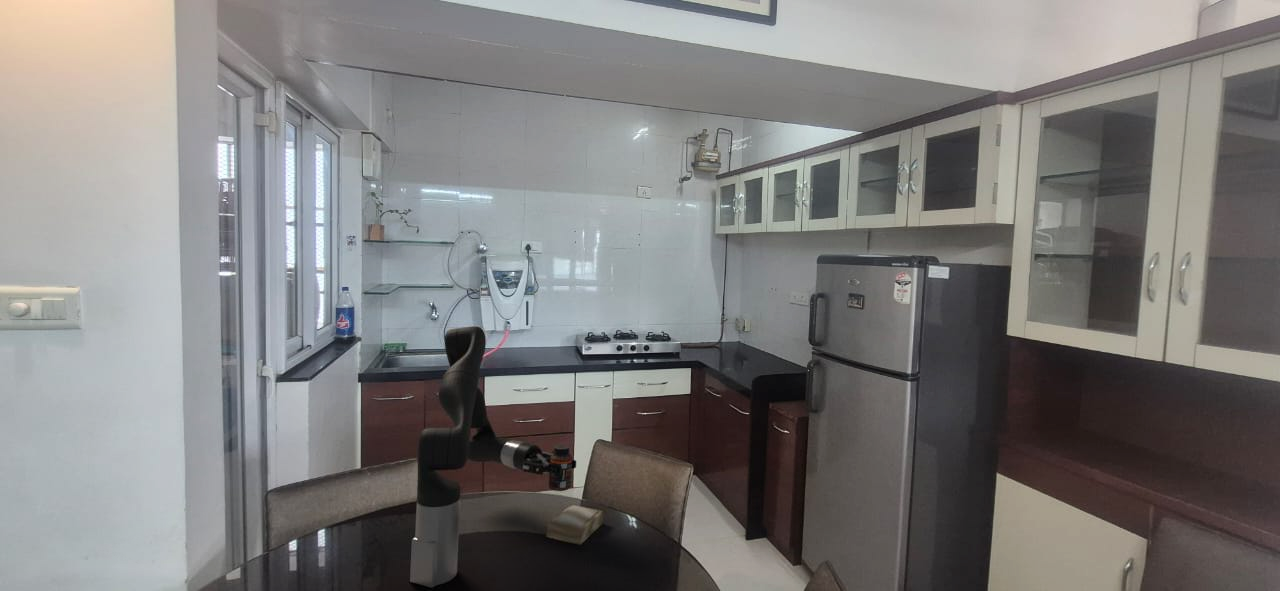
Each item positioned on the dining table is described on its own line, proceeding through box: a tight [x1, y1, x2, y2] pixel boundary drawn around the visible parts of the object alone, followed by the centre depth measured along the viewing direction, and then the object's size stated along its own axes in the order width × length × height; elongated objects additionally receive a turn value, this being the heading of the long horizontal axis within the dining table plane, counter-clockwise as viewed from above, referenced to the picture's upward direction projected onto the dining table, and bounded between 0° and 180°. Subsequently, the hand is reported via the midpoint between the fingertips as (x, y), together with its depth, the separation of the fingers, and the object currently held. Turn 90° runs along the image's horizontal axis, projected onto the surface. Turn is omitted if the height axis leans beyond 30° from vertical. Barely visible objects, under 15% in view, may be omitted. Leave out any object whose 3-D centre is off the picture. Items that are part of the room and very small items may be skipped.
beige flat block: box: [546, 504, 604, 546], centre depth 146 cm, size 14×10×4 cm
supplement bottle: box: [548, 444, 573, 492], centre depth 145 cm, size 6×6×11 cm
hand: (568, 467), depth 144 cm, fingers closed on supplement bottle, 6 cm apart
